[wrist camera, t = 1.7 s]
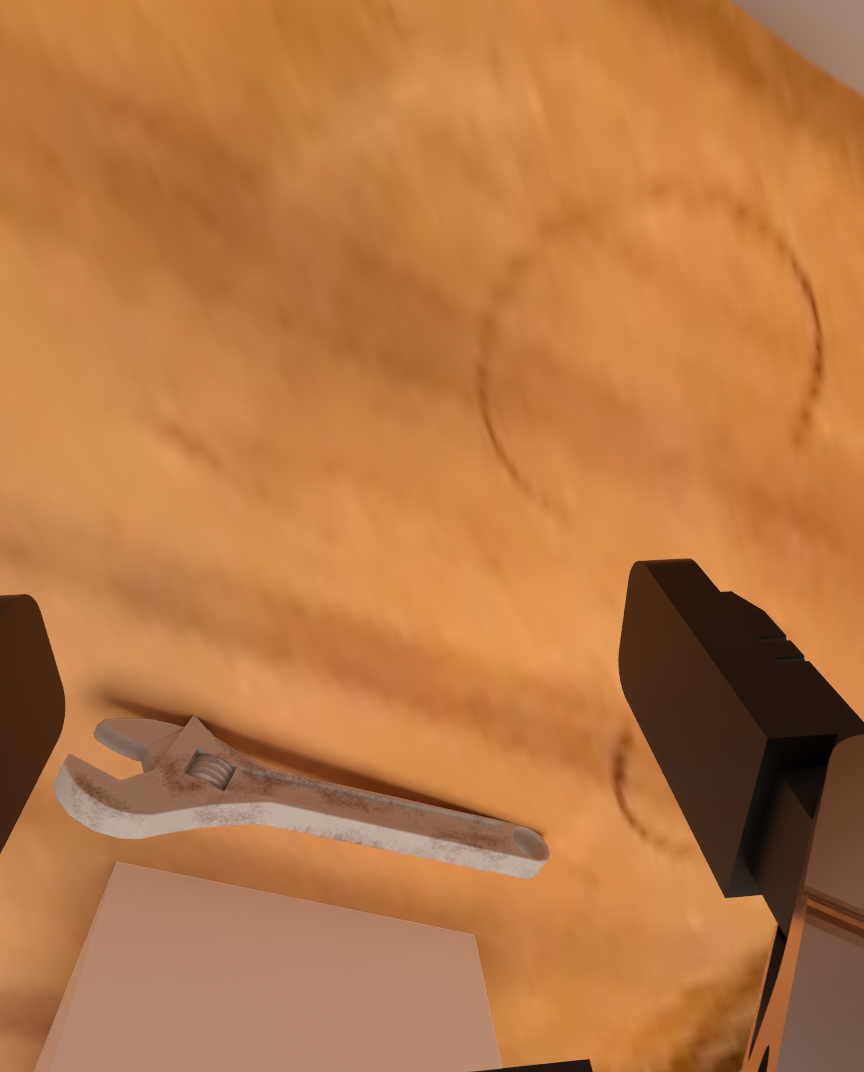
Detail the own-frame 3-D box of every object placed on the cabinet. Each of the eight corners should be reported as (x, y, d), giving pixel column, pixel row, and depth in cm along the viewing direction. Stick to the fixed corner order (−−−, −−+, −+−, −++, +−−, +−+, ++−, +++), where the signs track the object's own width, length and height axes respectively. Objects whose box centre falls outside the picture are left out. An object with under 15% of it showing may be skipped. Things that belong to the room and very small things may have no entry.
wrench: (513, 816, 53) (74, 709, 40) (527, 797, 52) (85, 683, 40) (556, 917, 46) (41, 826, 33) (573, 897, 45) (54, 797, 33)
